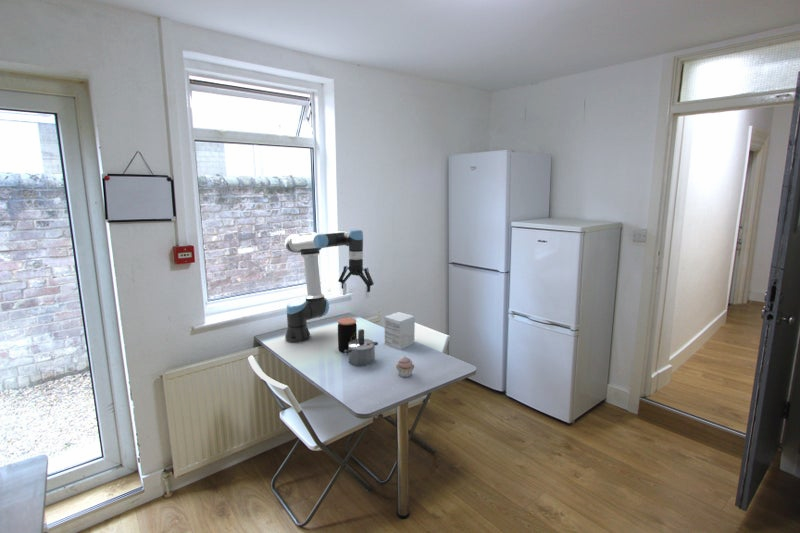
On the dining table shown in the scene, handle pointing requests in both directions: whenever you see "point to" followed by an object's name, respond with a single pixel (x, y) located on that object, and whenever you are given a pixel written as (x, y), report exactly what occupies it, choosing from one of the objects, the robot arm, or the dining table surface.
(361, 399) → the dining table surface
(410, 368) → the cupcake
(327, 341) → the dining table surface
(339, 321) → the coffee jar
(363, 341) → the lid
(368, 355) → the pot
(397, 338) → the supplement box
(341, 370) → the dining table surface
